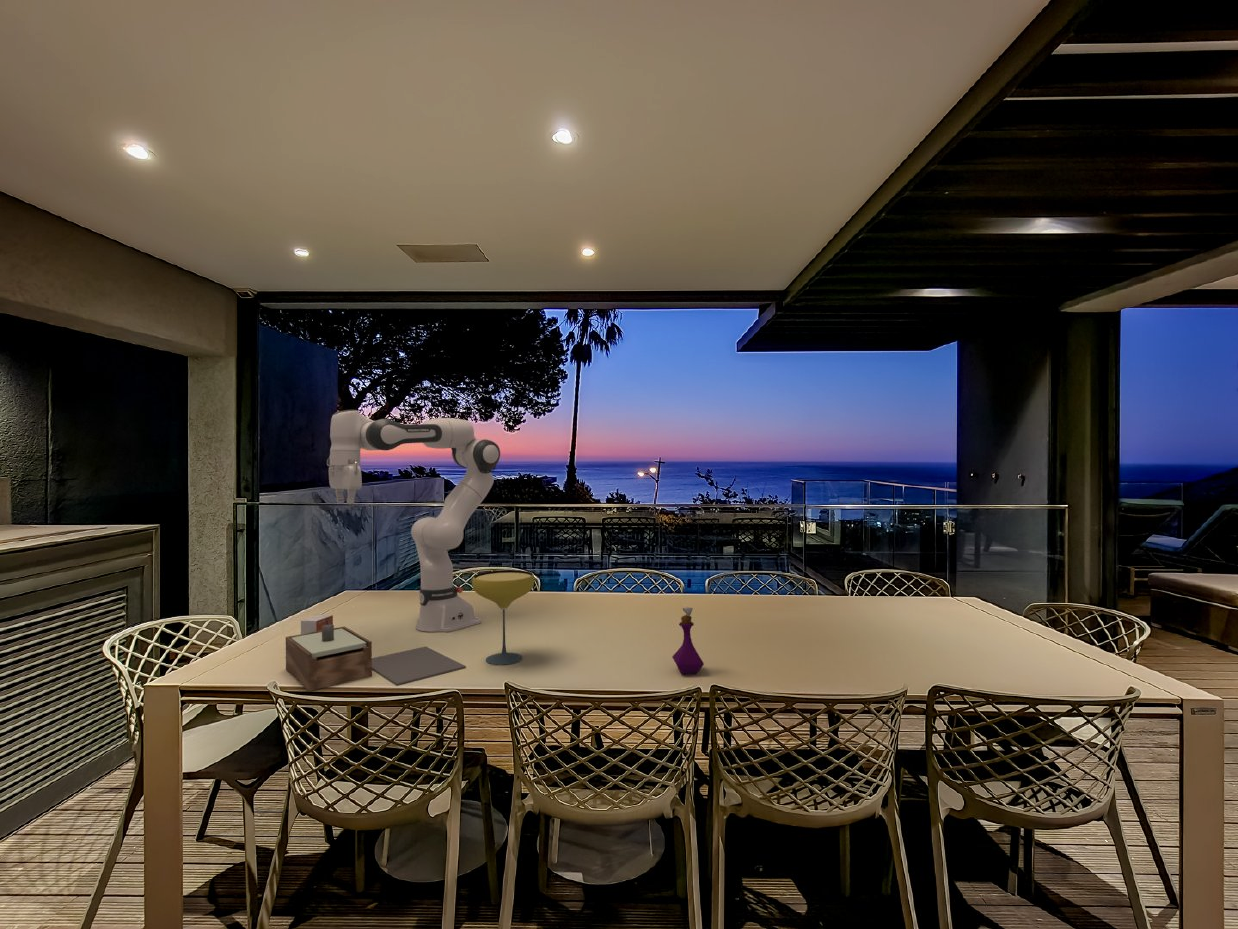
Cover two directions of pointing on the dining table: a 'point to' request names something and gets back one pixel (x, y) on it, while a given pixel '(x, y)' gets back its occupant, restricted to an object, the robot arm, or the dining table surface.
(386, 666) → the mat
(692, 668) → the perfume bottle
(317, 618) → the small box
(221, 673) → the dining table surface
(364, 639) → the walnut box
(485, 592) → the cocktail glass
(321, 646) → the lid
